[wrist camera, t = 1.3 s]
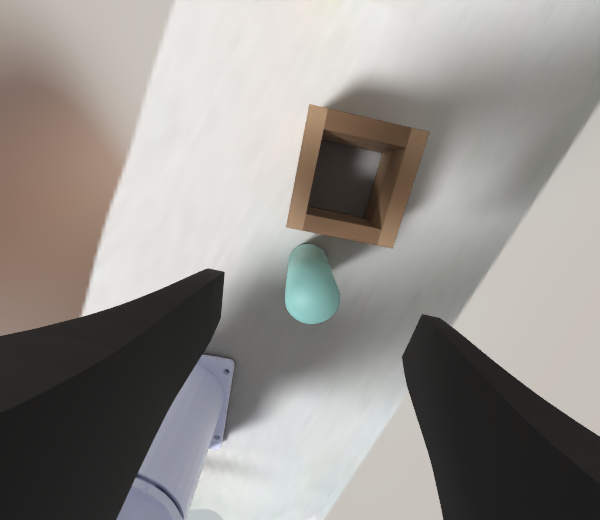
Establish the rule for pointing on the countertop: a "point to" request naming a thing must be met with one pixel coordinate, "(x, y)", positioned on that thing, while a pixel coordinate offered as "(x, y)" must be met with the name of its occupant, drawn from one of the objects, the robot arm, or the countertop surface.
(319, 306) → the teal cylinder
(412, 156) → the bead block
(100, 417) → the robot arm
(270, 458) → the countertop surface
